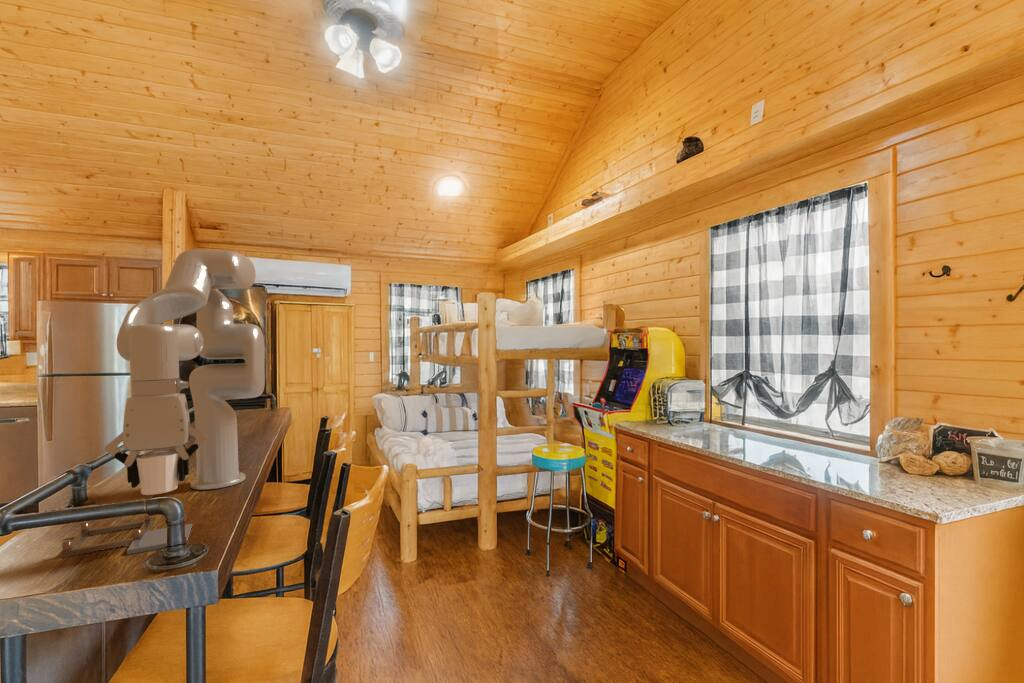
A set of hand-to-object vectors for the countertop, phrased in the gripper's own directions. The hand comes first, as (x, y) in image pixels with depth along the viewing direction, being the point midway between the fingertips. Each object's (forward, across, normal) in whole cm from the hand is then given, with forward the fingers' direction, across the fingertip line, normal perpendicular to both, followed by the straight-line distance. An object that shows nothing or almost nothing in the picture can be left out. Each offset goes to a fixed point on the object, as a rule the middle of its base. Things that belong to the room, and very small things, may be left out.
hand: (159, 481), depth 93 cm
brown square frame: (+11, +9, -6) cm, 16 cm away
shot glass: (+2, 0, 0) cm, 2 cm away
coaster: (+11, 0, 0) cm, 11 cm away
